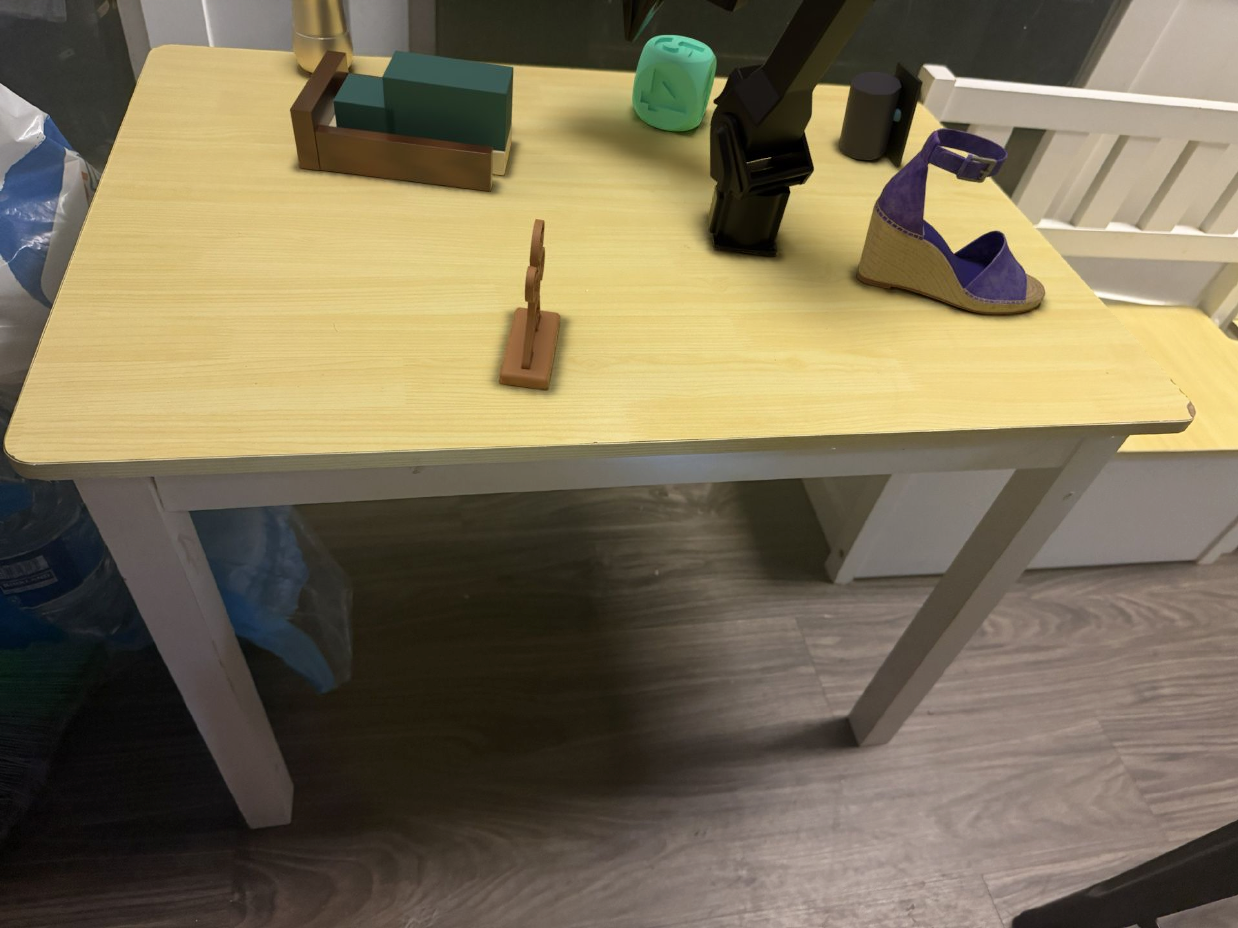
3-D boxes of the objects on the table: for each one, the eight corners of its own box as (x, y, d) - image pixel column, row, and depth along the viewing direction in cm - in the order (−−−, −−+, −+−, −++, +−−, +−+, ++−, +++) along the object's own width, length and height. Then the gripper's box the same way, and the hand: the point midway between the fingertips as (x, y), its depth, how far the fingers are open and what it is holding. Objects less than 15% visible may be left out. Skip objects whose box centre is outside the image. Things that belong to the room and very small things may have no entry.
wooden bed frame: (505, 128, 93) (506, 74, 88) (490, 192, 83) (491, 135, 79) (334, 105, 91) (327, 50, 87) (299, 168, 82) (289, 109, 77)
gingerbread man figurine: (515, 314, 71) (520, 188, 62) (560, 321, 71) (571, 195, 62) (498, 383, 65) (502, 253, 56) (547, 390, 65) (558, 262, 56)
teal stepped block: (511, 144, 91) (513, 65, 84) (504, 176, 86) (506, 95, 80) (345, 122, 89) (335, 40, 83) (329, 153, 84) (317, 69, 78)
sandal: (1048, 330, 80) (1140, 190, 69) (848, 290, 80) (908, 143, 69) (1033, 283, 85) (1116, 146, 74) (846, 245, 85) (901, 103, 74)
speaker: (894, 144, 103) (920, 59, 95) (900, 168, 99) (926, 83, 91) (834, 139, 103) (854, 55, 95) (836, 163, 99) (857, 78, 91)
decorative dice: (691, 138, 97) (705, 70, 91) (628, 121, 98) (637, 51, 92) (707, 112, 102) (721, 45, 96) (646, 95, 103) (657, 28, 97)
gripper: (799, -97, 78) (731, 65, 89) (629, -182, 79) (582, -13, 90) (770, -87, 70) (700, 90, 81) (581, -182, 71) (537, 4, 82)
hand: (629, 41), depth 84 cm, fingers closed
